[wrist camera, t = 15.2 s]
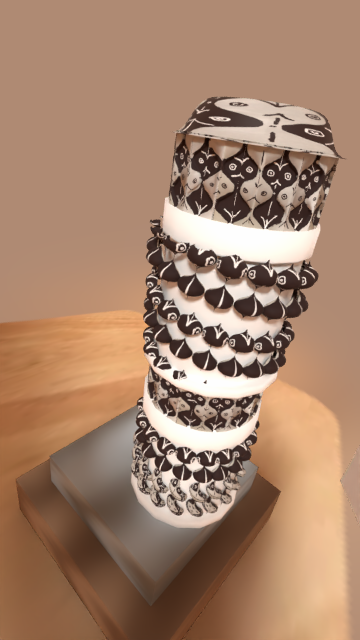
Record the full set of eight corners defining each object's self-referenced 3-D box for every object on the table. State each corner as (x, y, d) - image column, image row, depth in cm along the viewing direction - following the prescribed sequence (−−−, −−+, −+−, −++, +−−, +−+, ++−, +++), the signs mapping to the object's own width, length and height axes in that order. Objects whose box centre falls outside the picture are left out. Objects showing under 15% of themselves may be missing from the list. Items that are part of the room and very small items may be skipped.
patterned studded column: (99, 487, 25) (114, 77, 13) (166, 415, 32) (214, 108, 21) (209, 564, 22) (365, 99, 10) (257, 464, 29) (378, 128, 17)
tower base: (20, 508, 30) (12, 454, 27) (152, 421, 41) (158, 374, 38) (143, 692, 21) (154, 644, 18) (269, 518, 32) (290, 469, 29)
